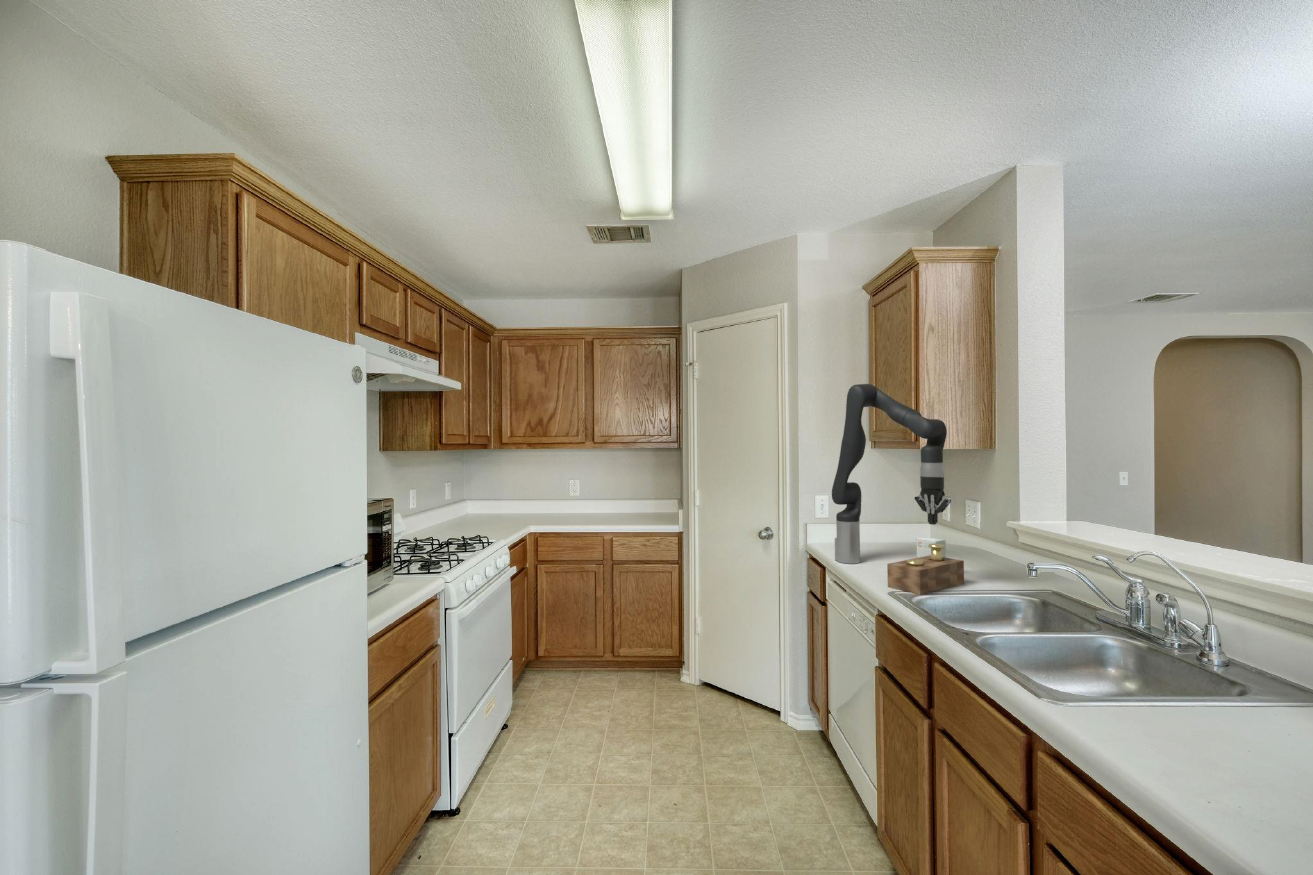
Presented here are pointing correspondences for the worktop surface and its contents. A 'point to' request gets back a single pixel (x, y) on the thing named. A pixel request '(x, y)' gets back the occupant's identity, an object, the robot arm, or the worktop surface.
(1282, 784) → the worktop surface
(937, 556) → the plunger
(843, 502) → the robot arm
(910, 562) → the plunger
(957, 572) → the socket block
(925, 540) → the small box
